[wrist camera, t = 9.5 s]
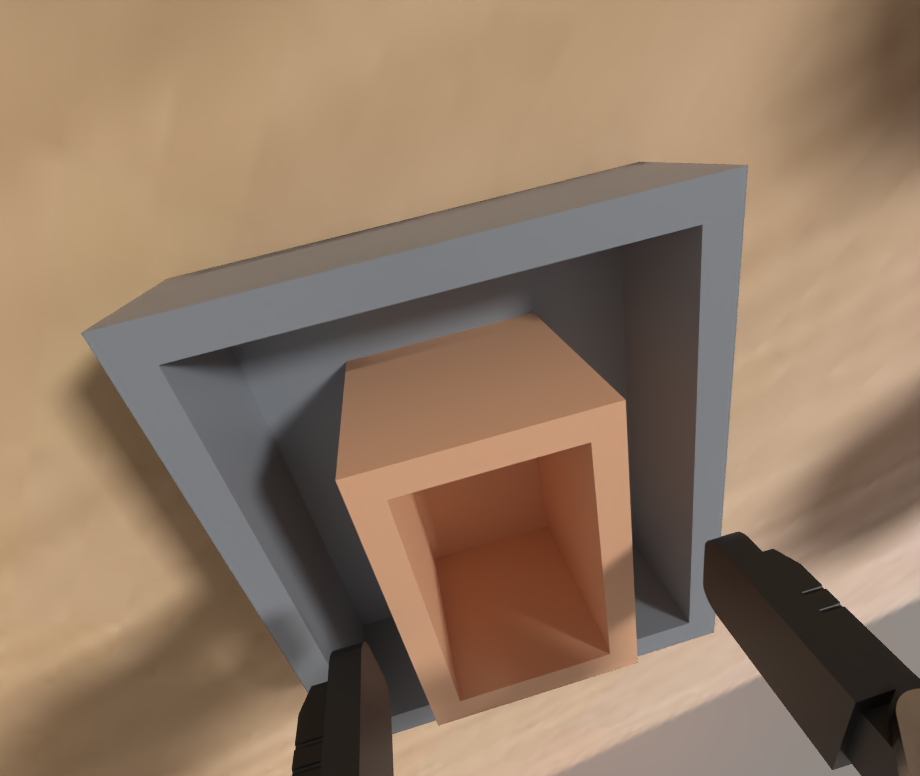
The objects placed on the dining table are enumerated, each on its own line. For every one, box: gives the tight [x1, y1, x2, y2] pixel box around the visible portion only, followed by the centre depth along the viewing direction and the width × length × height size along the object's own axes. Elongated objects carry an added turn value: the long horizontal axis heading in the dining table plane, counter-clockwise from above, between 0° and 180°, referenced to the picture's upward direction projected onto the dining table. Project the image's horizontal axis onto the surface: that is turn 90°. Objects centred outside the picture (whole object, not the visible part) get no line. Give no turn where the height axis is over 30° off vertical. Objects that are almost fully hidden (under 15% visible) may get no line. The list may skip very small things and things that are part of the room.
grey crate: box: [81, 162, 748, 734], centre depth 15 cm, size 14×16×4 cm
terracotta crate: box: [335, 313, 638, 726], centre depth 14 cm, size 6×9×6 cm, turn 11°
